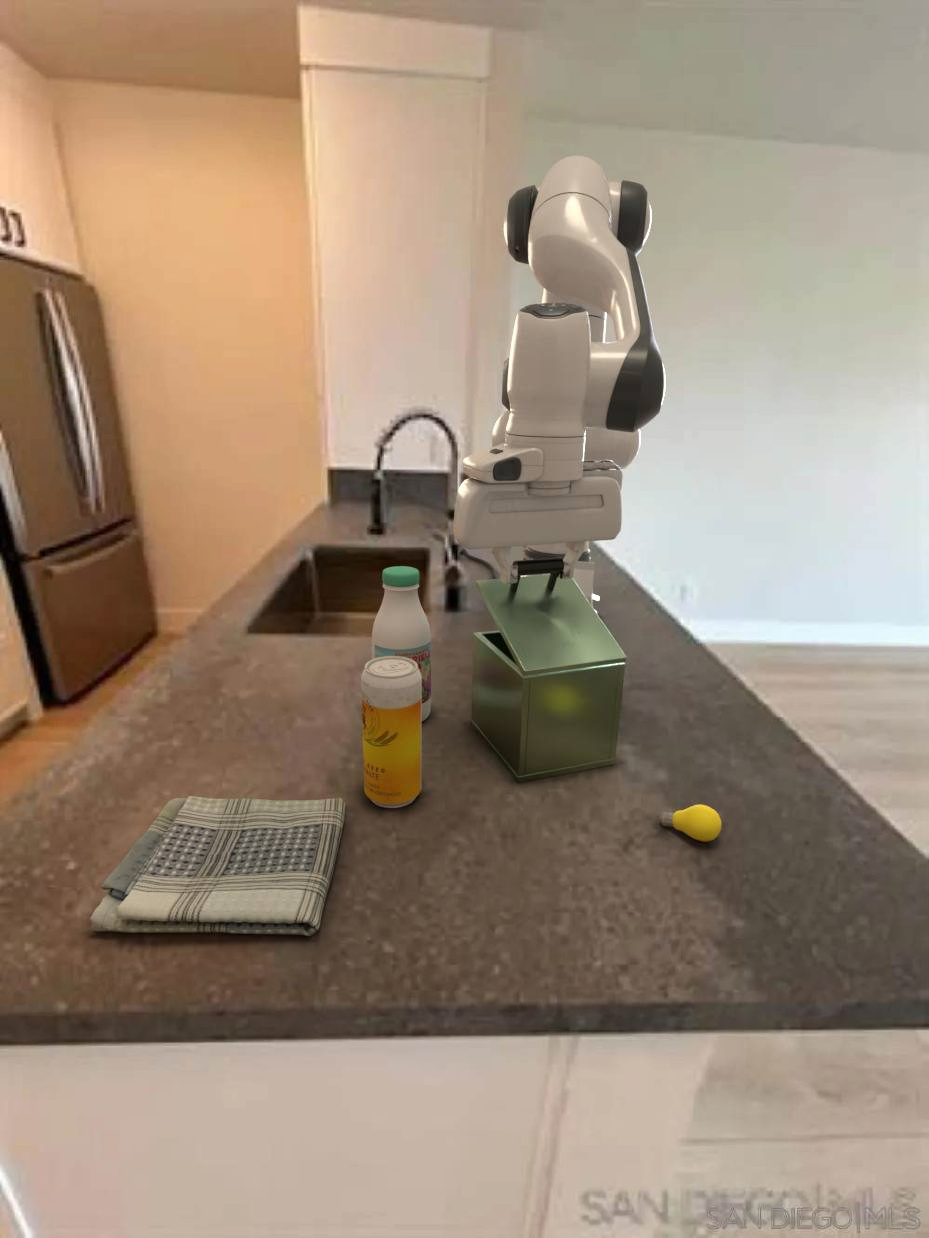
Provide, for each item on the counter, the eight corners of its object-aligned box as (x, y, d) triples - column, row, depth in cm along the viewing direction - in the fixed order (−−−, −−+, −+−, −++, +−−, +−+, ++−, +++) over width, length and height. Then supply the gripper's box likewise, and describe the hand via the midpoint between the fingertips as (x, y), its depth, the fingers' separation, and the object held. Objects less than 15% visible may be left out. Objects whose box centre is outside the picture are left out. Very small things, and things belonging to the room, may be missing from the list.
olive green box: (470, 724, 88) (473, 632, 84) (556, 711, 92) (562, 622, 88) (517, 783, 75) (523, 677, 71) (615, 764, 79) (625, 663, 75)
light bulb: (721, 851, 64) (712, 824, 63) (660, 843, 68) (651, 818, 66) (728, 824, 67) (720, 798, 65) (669, 818, 70) (660, 793, 69)
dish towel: (350, 809, 70) (349, 782, 69) (319, 943, 53) (317, 910, 52) (169, 808, 69) (165, 781, 68) (78, 943, 52) (71, 910, 51)
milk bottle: (361, 714, 90) (356, 569, 84) (403, 696, 95) (402, 559, 89) (399, 733, 85) (398, 581, 79) (442, 714, 91) (444, 570, 84)
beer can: (358, 785, 74) (353, 658, 69) (410, 774, 76) (410, 651, 71) (373, 816, 69) (370, 681, 64) (429, 803, 71) (430, 672, 66)
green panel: (475, 585, 82) (482, 551, 78) (567, 577, 86) (578, 545, 82) (522, 676, 71) (533, 641, 68) (625, 662, 75) (639, 628, 72)
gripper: (608, 456, 81) (598, 567, 86) (449, 459, 75) (447, 579, 79) (638, 462, 76) (626, 580, 81) (469, 466, 69) (466, 595, 74)
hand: (536, 580), depth 80 cm, fingers closed on green panel, 6 cm apart
